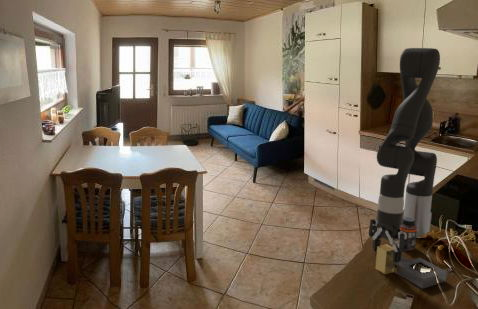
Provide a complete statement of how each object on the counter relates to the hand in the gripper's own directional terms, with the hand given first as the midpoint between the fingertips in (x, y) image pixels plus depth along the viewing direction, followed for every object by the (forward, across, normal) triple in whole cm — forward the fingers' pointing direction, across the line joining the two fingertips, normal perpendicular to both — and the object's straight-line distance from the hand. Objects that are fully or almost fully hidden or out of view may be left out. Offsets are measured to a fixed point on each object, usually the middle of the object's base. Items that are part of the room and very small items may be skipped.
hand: (385, 256), depth 127 cm
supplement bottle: (+5, +9, -19) cm, 22 cm away
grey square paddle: (+5, -1, -7) cm, 9 cm away
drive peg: (+5, 0, 0) cm, 5 cm away
